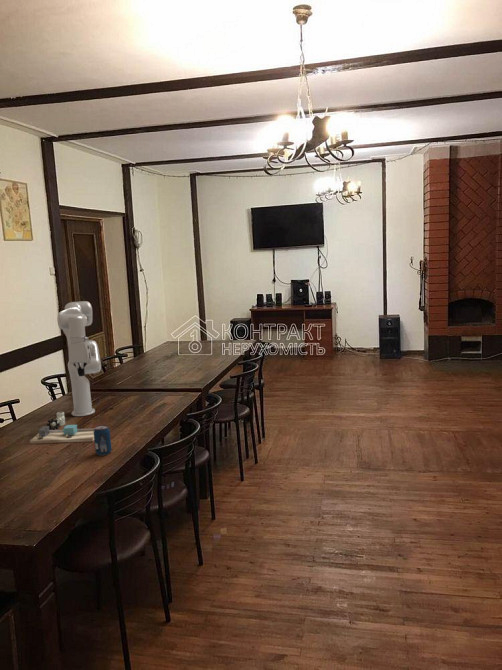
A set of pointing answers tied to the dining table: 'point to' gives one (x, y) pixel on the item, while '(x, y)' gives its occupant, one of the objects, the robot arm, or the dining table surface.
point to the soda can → (102, 440)
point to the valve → (57, 421)
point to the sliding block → (70, 430)
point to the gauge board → (62, 436)
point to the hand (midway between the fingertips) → (81, 375)
